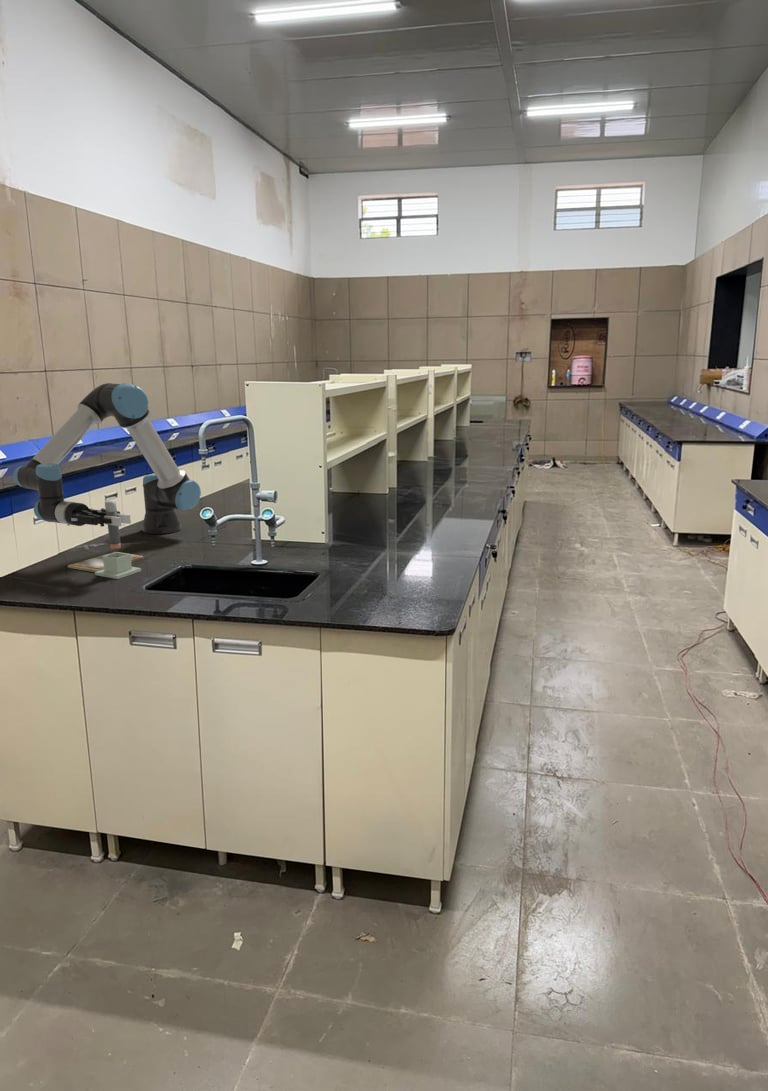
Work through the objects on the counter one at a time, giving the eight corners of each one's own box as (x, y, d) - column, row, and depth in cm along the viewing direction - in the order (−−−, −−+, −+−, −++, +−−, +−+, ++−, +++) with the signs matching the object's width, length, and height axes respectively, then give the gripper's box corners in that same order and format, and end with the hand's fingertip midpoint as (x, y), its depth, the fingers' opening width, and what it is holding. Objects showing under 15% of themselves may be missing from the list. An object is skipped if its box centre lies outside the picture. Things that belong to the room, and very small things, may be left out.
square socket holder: (119, 567, 245) (117, 549, 244) (141, 571, 241) (139, 553, 239) (95, 574, 236) (93, 557, 235) (117, 579, 232) (115, 560, 230)
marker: (116, 546, 238) (111, 500, 235) (123, 547, 237) (117, 501, 233) (108, 548, 236) (102, 502, 232) (114, 549, 234) (108, 503, 230)
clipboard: (114, 553, 262) (114, 549, 262) (143, 558, 256) (143, 554, 255) (68, 567, 245) (67, 563, 244) (97, 573, 239) (97, 568, 238)
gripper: (94, 520, 250) (145, 527, 239) (53, 529, 236) (105, 537, 226) (91, 498, 248) (143, 504, 238) (51, 506, 234) (103, 513, 224)
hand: (124, 520), depth 232 cm, fingers closed on marker, 3 cm apart
